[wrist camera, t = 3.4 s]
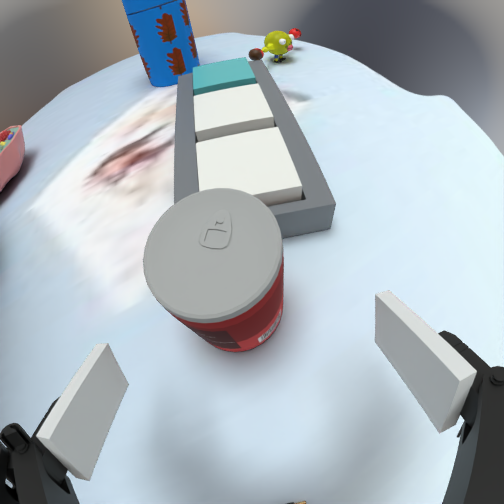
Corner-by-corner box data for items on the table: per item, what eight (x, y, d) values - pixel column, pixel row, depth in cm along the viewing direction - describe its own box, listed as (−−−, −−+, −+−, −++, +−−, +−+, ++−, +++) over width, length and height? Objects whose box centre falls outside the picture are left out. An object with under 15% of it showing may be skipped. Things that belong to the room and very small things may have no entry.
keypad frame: (188, 257, 27) (175, 236, 24) (183, 94, 43) (178, 76, 39) (330, 228, 27) (335, 203, 24) (263, 79, 43) (261, 59, 39)
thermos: (206, 61, 50) (184, -40, 28) (192, 83, 45) (162, -35, 23) (161, 67, 51) (133, -25, 29) (141, 91, 46) (104, -14, 24)
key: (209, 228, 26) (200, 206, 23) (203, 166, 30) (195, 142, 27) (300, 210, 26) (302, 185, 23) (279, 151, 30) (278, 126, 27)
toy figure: (269, 79, 42) (266, 46, 36) (242, 74, 44) (238, 43, 38) (310, 50, 49) (310, 24, 43) (287, 46, 51) (286, 20, 45)
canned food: (279, 262, 26) (275, 180, 16) (286, 350, 22) (291, 314, 13) (197, 269, 27) (152, 195, 17) (195, 354, 23) (134, 321, 13)
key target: (198, 109, 36) (193, 89, 33) (197, 84, 40) (192, 67, 37) (257, 97, 36) (255, 77, 33) (247, 74, 40) (245, 57, 37)
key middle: (202, 154, 31) (195, 131, 28) (199, 116, 35) (193, 96, 32) (275, 140, 31) (273, 116, 28) (260, 104, 35) (258, 83, 32)
